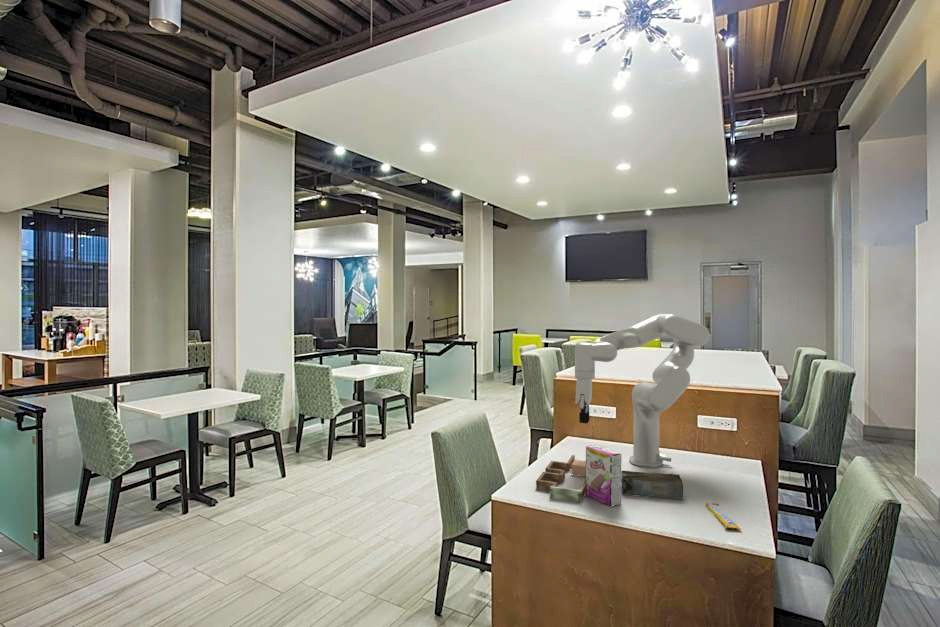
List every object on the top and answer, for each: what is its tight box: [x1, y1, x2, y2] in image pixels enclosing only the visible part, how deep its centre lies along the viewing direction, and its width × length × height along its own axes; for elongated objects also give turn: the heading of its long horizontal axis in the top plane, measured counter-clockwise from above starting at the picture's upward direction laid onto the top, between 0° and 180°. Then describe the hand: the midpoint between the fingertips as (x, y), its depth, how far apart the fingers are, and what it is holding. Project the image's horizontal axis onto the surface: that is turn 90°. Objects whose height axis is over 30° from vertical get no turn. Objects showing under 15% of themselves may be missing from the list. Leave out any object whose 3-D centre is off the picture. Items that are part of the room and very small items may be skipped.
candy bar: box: [705, 502, 741, 530], centre depth 146 cm, size 17×4×2 cm, turn 173°
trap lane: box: [535, 454, 586, 503], centre depth 177 cm, size 16×38×4 cm, turn 158°
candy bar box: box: [585, 444, 622, 507], centre depth 159 cm, size 11×5×16 cm, turn 32°
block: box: [571, 459, 586, 477], centre depth 184 cm, size 5×6×4 cm
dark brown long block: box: [621, 470, 684, 501], centre depth 165 cm, size 8×19×7 cm, turn 75°
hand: (584, 421), depth 191 cm, fingers closed
